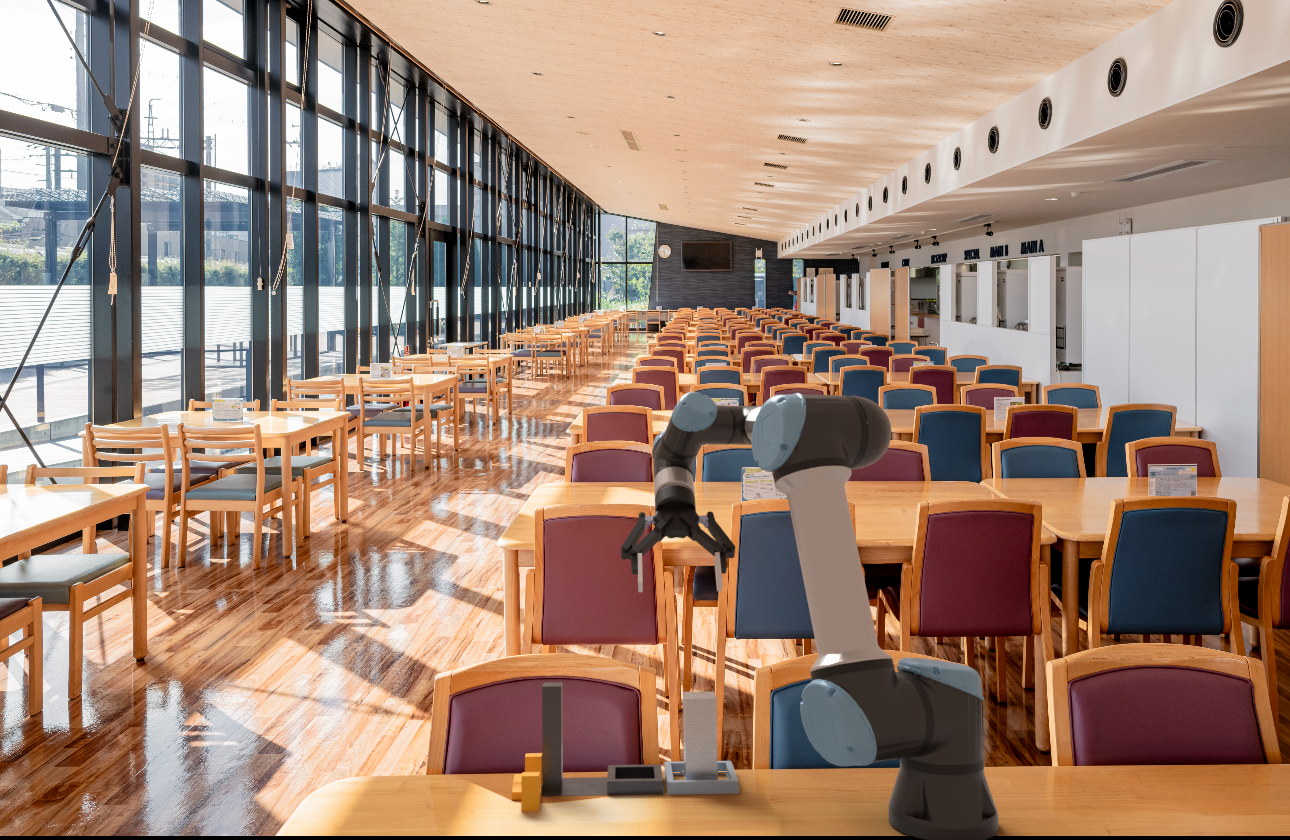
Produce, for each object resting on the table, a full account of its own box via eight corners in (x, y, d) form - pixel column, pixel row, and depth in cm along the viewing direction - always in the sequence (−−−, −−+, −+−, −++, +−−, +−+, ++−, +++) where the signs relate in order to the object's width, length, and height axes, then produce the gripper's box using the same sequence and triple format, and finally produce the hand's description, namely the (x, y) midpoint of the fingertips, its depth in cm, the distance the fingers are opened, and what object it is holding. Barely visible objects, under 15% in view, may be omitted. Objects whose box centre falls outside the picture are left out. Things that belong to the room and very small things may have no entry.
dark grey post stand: (662, 783, 165) (661, 677, 166) (664, 802, 156) (663, 689, 157) (545, 785, 164) (545, 678, 165) (540, 804, 155) (540, 690, 156)
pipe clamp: (514, 794, 160) (514, 753, 161) (542, 794, 161) (542, 753, 161) (509, 821, 148) (509, 776, 149) (538, 820, 149) (539, 775, 149)
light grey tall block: (714, 778, 164) (713, 691, 165) (717, 788, 159) (716, 698, 160) (683, 779, 164) (683, 691, 165) (685, 788, 159) (685, 698, 160)
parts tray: (731, 779, 167) (731, 760, 167) (738, 801, 156) (738, 781, 156) (664, 780, 167) (664, 761, 167) (667, 802, 156) (667, 782, 156)
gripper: (739, 510, 192) (750, 599, 176) (608, 511, 192) (607, 601, 176) (742, 482, 187) (754, 571, 171) (607, 483, 187) (607, 573, 171)
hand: (680, 587), depth 173 cm, fingers open, 13 cm apart
